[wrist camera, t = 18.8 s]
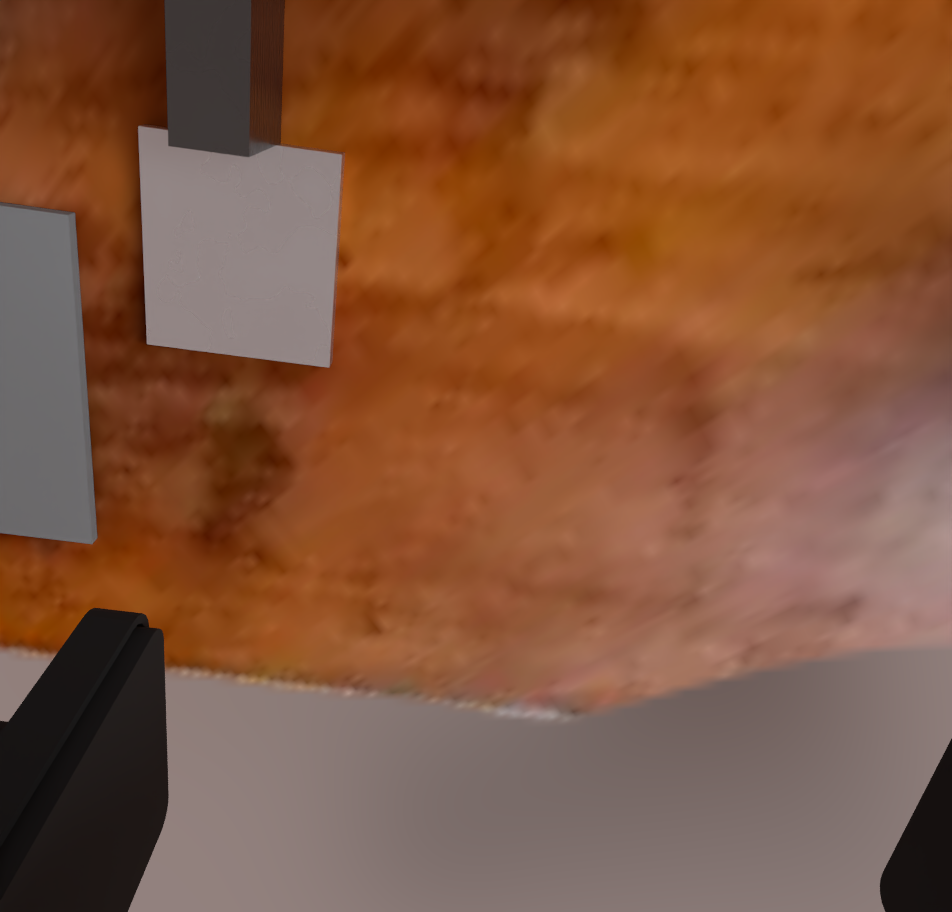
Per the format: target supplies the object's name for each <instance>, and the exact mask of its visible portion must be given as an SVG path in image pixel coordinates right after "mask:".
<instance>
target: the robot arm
mask: <svg viewBox="0 0 952 912" xmlns="http://www.w3.org/2000/svg"><path fill="white" fill-rule="evenodd" d="M166 732H167V731H166V699H165V666H164V638H163V632H162V630H161V629H157V628H149V623H148V619H147V617H146V615H144V614H142V613H134V612H125V611H117V610H108V609H100V608H93V609H91V610H89V611H88V612H87V613H86V614H85V616H84V617H83V618H82V620H81V621H80V623H79V624H78V625H77V627H76V628H75V630H74V631H73V632H72V634H71V635H70V637H69V638H68V639H67V641H66V642H65V644H64V645H63V646H62V648H61V649H60V651H59V652H58V653H57V655H56V656H55V657H54V659H53V660H52V662H51V663H50V665H49V666H48V667H47V669H46V670H45V671H44V673H43V674H42V676H41V677H40V679H39V680H38V681H37V683H36V684H35V686H34V687H33V688H32V690H31V691H30V692H29V694H28V695H27V697H26V698H25V700H24V701H23V702H22V704H21V705H20V706H19V708H18V709H17V711H16V712H15V714H14V715H13V716H12V718H11V719H10V720H9V722H4V721H0V912H128V910H129V907H130V904H131V902H132V900H133V897H134V895H135V893H136V890H137V888H138V886H139V883H140V881H141V878H142V876H143V874H144V871H145V869H146V867H147V864H148V862H149V859H150V857H151V855H152V852H153V850H154V847H155V845H156V843H157V840H158V838H159V835H160V833H161V830H162V828H163V824H164V821H165V816H166V812H167V806H168V765H167V733H166ZM880 894H881V900H882V904H883V907H884V909H885V912H952V739H951V741H950V743H949V745H948V747H947V749H946V751H945V753H944V755H943V757H942V759H941V760H940V763H939V764H938V766H937V768H936V770H935V772H934V774H933V776H932V778H931V780H930V782H929V784H928V786H927V788H926V790H925V792H924V793H923V795H922V797H921V799H920V801H919V803H918V805H917V807H916V809H915V811H914V813H913V815H912V817H911V819H910V821H909V823H908V825H907V826H906V828H905V830H904V832H903V834H902V836H901V838H900V840H899V842H898V844H897V846H896V848H895V850H894V852H893V854H892V856H891V858H890V860H889V861H888V863H887V865H886V867H885V869H884V871H883V874H882V877H881V881H880Z"/></svg>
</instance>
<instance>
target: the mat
mask: <svg viewBox="0 0 952 912" xmlns="http://www.w3.org/2000/svg"><path fill="white" fill-rule="evenodd" d="M0 533H5V534H13V535H22V536H30V537H38V538H46V539H54V540H63V541H71V542H79V543H87V544H93V542H94V541H95V540H96V539H97V526H96V512H95V497H94V483H93V468H92V454H91V439H90V425H89V410H88V396H87V381H86V367H85V352H84V338H83V323H82V309H81V294H80V280H79V265H78V251H77V236H76V222H75V213H74V212H67V211H60V210H53V209H45V208H38V207H31V206H24V205H17V204H10V203H3V202H0Z"/></svg>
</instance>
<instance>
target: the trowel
mask: <svg viewBox="0 0 952 912" xmlns="http://www.w3.org/2000/svg"><path fill="white" fill-rule="evenodd" d="M284 9H285V0H165V39H166V77H167V116H168V128H167V127H160V126H153V125H146V124H145V125H140V126H138V138H139V162H140V187H141V212H142V236H143V261H144V286H145V311H146V335H147V344H149V345H157V346H165V347H173V348H180V349H188V350H196V351H204V352H212V353H219V354H227V355H235V356H243V357H250V358H258V359H266V360H274V361H282V362H289V363H297V364H305V365H313V366H321V367H328V368H329V367H330V365H331V363H332V357H333V340H334V324H335V308H336V291H337V275H338V259H339V242H340V226H341V209H342V193H343V177H344V160H345V153H344V152H337V151H330V150H323V149H316V148H309V147H302V146H295V145H288V144H281V111H282V77H283V43H284Z"/></svg>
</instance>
